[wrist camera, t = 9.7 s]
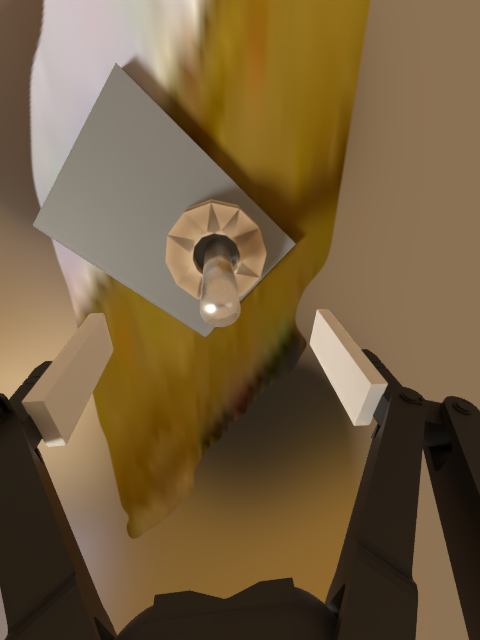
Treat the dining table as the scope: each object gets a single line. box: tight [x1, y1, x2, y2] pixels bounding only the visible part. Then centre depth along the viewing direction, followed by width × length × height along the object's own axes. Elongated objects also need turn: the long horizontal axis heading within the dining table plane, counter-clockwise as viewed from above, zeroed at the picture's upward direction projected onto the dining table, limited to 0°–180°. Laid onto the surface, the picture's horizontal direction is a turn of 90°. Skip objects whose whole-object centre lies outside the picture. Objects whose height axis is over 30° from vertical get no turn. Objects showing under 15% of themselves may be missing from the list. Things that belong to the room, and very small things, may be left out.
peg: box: [200, 238, 241, 327], centre depth 26 cm, size 3×3×15 cm
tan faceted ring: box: [165, 199, 267, 299], centre depth 31 cm, size 11×11×3 cm
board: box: [33, 63, 296, 337], centre depth 31 cm, size 24×18×2 cm
